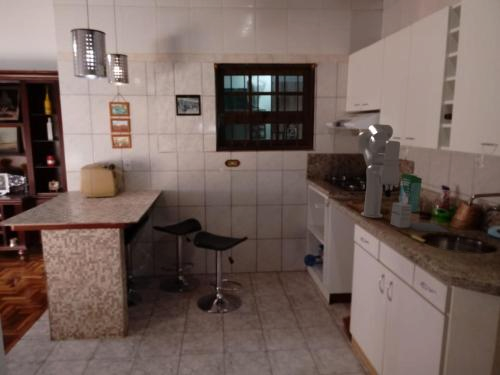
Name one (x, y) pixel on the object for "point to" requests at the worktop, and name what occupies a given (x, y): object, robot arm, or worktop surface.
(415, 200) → the milk carton
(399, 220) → the supplement box
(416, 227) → the mat
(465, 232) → the worktop surface
